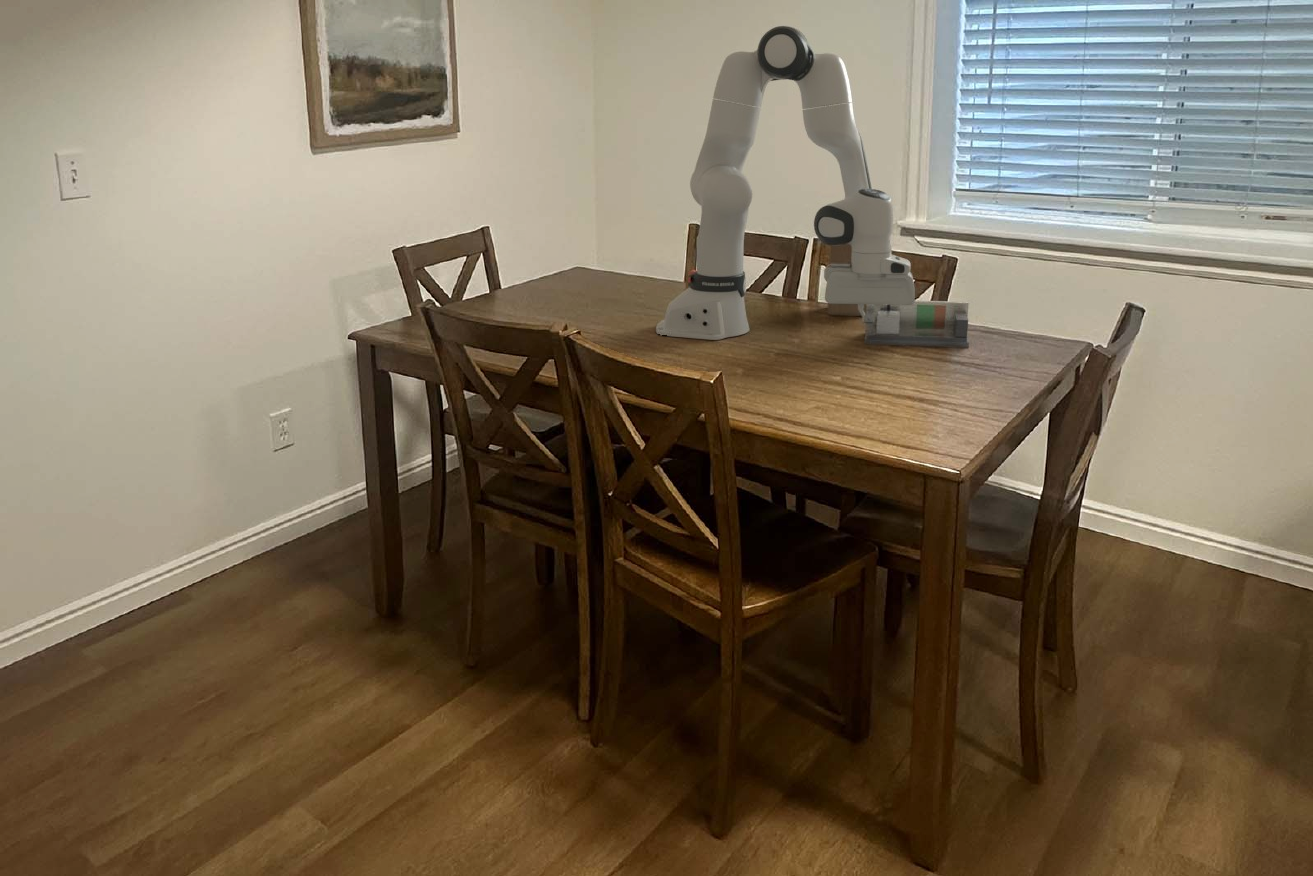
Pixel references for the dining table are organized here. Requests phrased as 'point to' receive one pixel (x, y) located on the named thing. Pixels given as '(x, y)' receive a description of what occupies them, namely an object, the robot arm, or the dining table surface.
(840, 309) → the wooden block
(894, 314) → the gauge carriage
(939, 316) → the bench
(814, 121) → the robot arm
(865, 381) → the dining table surface
